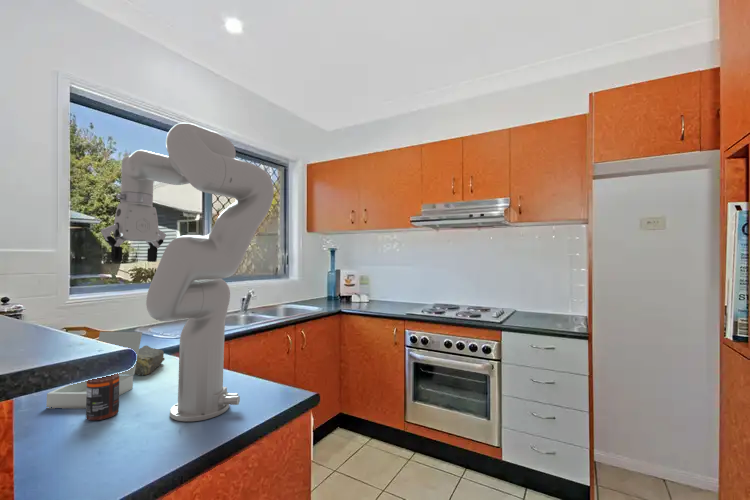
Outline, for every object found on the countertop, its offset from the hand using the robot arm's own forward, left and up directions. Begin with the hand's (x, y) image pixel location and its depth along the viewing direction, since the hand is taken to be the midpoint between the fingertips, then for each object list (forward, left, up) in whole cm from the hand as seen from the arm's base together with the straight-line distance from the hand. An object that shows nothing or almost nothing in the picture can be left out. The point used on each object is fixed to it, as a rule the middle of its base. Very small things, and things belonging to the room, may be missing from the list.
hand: (135, 261), depth 100 cm
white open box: (+4, +7, -35) cm, 35 cm away
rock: (+5, -15, -35) cm, 38 cm away
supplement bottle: (-6, +19, -35) cm, 40 cm away
